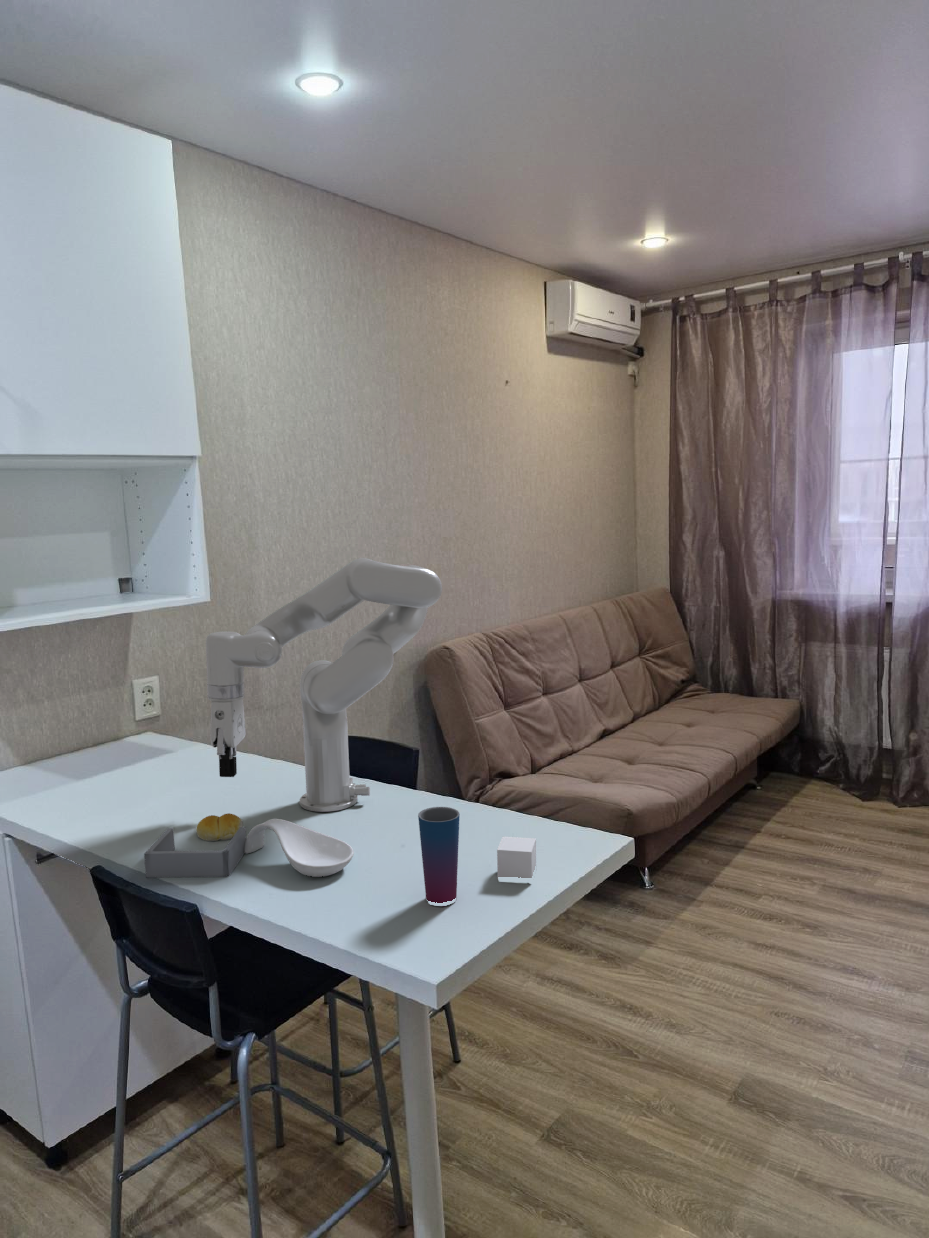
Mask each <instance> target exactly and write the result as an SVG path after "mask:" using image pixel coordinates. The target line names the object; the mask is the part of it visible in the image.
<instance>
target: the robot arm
mask: <svg viewBox="0 0 929 1238" xmlns="http://www.w3.org/2000/svg"><path fill="white" fill-rule="evenodd" d="M442 593H443V583H442V581H441V578H440V577H439V576H438V574H437V573H436V572H434V571H433V570H432V569H429V568H426V567H423V566H419V565H415V564H411V565H398V564H391V563H387V562H381V561H377V560H374V559H370V558H368V557H359V558H355V559H353V560H352V561H350V562H349V563H346V565H343V567H341V568H340V569H338V570H337V571H335V572H334V573H332V574H331V575H329V577H327V578H326V579H324V580H323V581H321V582H320V583H318V584H317V585H315V586H314V587H312V588H311V589H309V590H308V591H306V592H305V593H304V594H302V595H299V596H298V597H296V598H294V600H292V601H290V602H288V603H287V604H285V605H283V606H282V607H280V608H278V609H277V610H275V611H273V612H272V613H271V614H269V615H268V616H266V617H265V618H263V619H262V620H260V621H259V622H258V623H255V624H254V625H253V626H252V627H250V628H249V629H248V630H247V631H246V633H245V634H243V635H242V634H240V633H239V632H236V631H230V630H229V631H225V630H224V631H216V632H215V631H214V632H211V633H209V634H208V635H207V636H206V637H205V654H206V655H205V657H206V658H205V660H206V691H207V693H206V694H207V696H206V697H207V700H208V701H210V705H211V706H210V744H211V746H212V748H217V749H216V755H217V756H218V761H219V762H218V765H219V766H218V767H219V770H218V771H219V777H220V778H235V776H236V775H237V774H238V772H237V770H238V769H237V768H238V767H237V746H238V745H239V744H240V743H241V742H242V741H243V740H244V738H245V737H246V730H247V729H246V720H245V719H246V718H245V707H244V706H245V705H244V698H245V667H246V668H255V669H268V668H270V667H273V666H275V665H276V664H277V663H279V661H280V659H281V658H282V653H283V647H285V646H286V645H287V644H289V643H290V642H292V641H293V640H295V639H296V638H298V637H301V636H302V635H303V634H306V633H309V632H310V631H315V630H320V629H323V628H326V627H328V626H330V625H332V624H334V623H335V622H336V621H338V620H339V619H340V618H342V617H343V616H345V615H346V614H347V613H349V612H350V611H351V610H353V609H354V608H356V607H358V606H359V605H361V604H362V603H363V602H364V601H367V602H372V603H378V604H383V605H389V606H387V608H386V609H385V610H384V611H383V612H382V613H380V614H379V615H378V617H376V618H375V619H374V620H373V621H371V622H370V623H368V624H367V625H365V626H364V627H363V628H362V629H360V630H358V631H357V632H356V633H354V634H353V635H351V636H350V637H349V638H348V639H346V641H345V643H344V644H343V646H342V649H341V656H339V658H337V659H335V661H333V662H332V661H329V660H325V659H324V660H323V659H320V660H315V661H312V662H311V663H309V664H308V665H307V666H306V667H304V669H303V671H302V673H301V675H300V677H299V678H300V680H299V696H300V702H301V704H300V705H301V712H302V725H303V727H302V729H303V750H304V771H305V790H306V793H305V794H302V796H300V798H299V806H300V807H301V808H302V809H305V810H306V811H310V812H318V813H319V812H321V813H327V812H329V813H330V812H336V811H341V810H342V811H343V810H345V809H348V808H351V807H352V806H354V805H356V803H357V802H358V796H361V797H362V796H363V797H364V796H365V797H367V796H368V797H369V796H370V795H371V786H367V784H365V783H364V784H363V783H362V784H356V783H355V782H354V780H353V777H350V776H351V775H350V759H349V757H350V756H349V733H348V732H349V731H348V730H349V729H348V725H349V724H348V714H347V713H348V712H347V709H348V708H349V707H350V706H351V705H353V704H354V703H356V702H357V701H359V700H360V699H361V698H362V697H363V696H365V695H366V694H367V693H368V692H370V691H371V690H373V689H374V688H375V687H377V685H379V684H380V683H381V682H383V681H384V680H385V679H386V678H387V677H388V675H389V674H390V673H391V670H392V668H393V666H394V662H395V661H394V660H395V659H394V658H395V657H394V654H395V653H397V652H398V651H400V649H402V648H403V647H404V646H405V645H406V644H408V643H409V641H411V640H412V639H413V638H414V637H415V636H417V634H418V632H420V630H421V629H422V628H423V624H424V623H425V620H426V617H427V614H428V609H429V608H430V607H432V606H433V605H435V604H436V603H437V602H438V601H439V599H440V598H441V596H442Z"/></svg>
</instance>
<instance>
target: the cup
mask: <svg viewBox="0 0 929 1238" xmlns="http://www.w3.org/2000/svg"><path fill="white" fill-rule="evenodd" d="M417 817H418V828H419V839H420V848H421V859H422V860H421V861H422V868H423V869H422V870H423V881H424V890H425V891H424V892H425V900H426V899H427V900H428V901H431V902H435V903H436V902H437V903H443V902H447V901H452V900H453V899H455V898H456V899H457V891H458V890H457V889H458V888H457V887H458V866H459V865H458V864H459V863H458V862H459V842H460V841H459V839H460V811H459V810H457V809H455V808H454V807H453V808H452V807H447V806H433V807H428V808H424V809H422V810H421V811H419V812H418V815H417Z"/></svg>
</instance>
